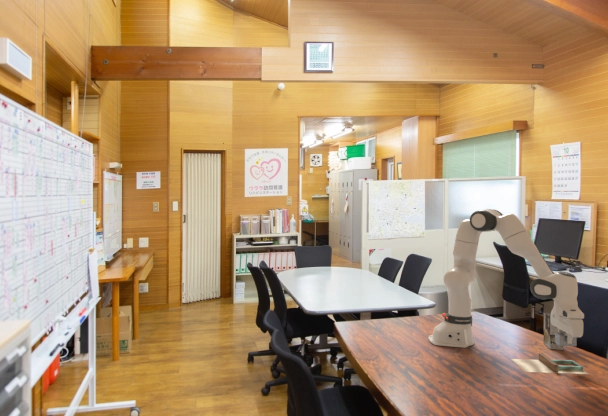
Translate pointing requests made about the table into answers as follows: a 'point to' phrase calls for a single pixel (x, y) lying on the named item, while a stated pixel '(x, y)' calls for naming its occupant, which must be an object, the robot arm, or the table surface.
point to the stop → (564, 340)
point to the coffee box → (550, 333)
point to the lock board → (549, 365)
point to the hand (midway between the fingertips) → (565, 341)
